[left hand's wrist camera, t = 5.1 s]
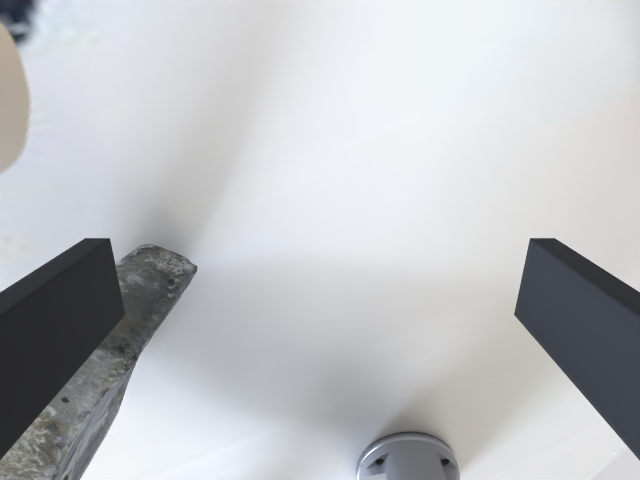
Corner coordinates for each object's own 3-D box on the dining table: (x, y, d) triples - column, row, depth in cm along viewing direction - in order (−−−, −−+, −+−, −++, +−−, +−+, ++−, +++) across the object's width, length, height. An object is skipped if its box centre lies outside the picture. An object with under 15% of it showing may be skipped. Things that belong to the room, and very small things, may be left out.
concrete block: (147, 219, 45) (27, 310, 27) (215, 257, 47) (146, 366, 29) (68, 374, 54) (-67, 526, 35) (128, 401, 55) (30, 560, 37)
